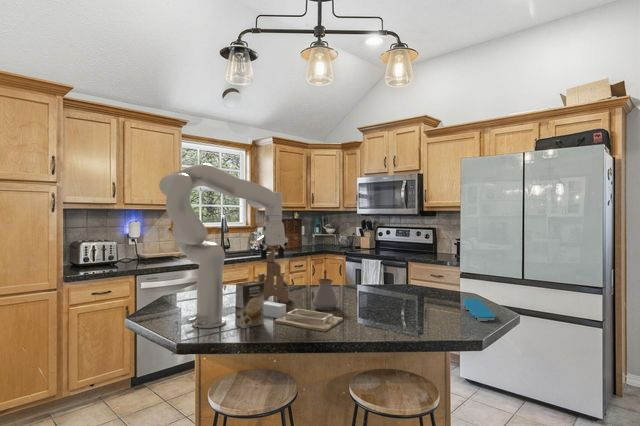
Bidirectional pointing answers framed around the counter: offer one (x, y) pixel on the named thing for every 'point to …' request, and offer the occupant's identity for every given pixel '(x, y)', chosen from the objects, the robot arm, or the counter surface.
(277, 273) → the wooden toy
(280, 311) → the white block
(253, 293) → the coffee box
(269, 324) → the counter surface
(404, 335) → the counter surface
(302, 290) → the counter surface
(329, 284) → the coffee pot
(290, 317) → the cradle
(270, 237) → the robot arm
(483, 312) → the blue block
